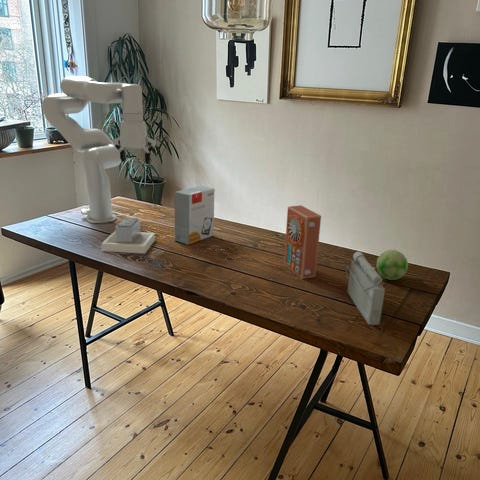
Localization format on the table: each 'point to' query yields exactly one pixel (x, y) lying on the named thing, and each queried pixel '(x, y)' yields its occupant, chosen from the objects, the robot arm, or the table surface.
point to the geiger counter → (365, 288)
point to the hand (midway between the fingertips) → (135, 162)
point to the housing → (128, 230)
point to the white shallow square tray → (129, 244)
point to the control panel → (302, 241)
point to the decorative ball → (392, 265)
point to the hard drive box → (194, 214)
